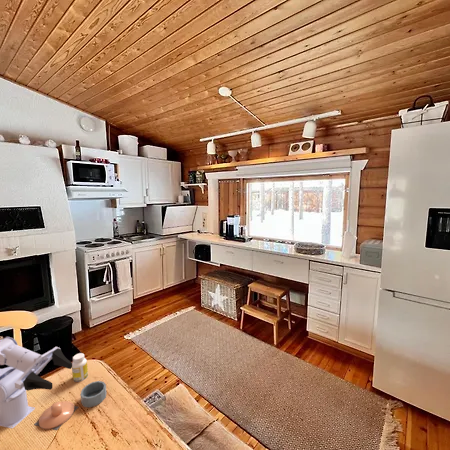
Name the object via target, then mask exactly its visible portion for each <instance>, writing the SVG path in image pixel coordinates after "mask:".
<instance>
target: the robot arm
mask: <svg viewBox="0 0 450 450" xmlns="http://www.w3.org/2000/svg"><path fill="white" fill-rule="evenodd" d="M51 360H52V362H53V366H59V367H63V368H66V369H69V370H72V363H73V362H72V361H71V360H69V359H68V358H67V357H66V356H65V355H64V353H63V352H62V349H61V348H60V346H59V347H58V346H55V347H53V348H52V349H50V350H48V351H47V352H45V353H43V354H40V353H38V352H35V351H33V350H30V349H27V348H26V347H23V346H20V345H18V342H17V340H15V338H13V337H10V336H5V337H4V338H2V339H0V366H4V365H6V366H7V367H4V368H0V427H4V428H8V429H14V428H15V427H16V426H17V425H19V423H21V422H22V421H23V420H24V419H26V417H28V416H29V415H30V414H31V413H32V412H34V410H35V409H36V407H33V406H30V405H29V402H28V397H27V396H28V395H27V394H28V393H27V391H34V390H49V391H50V390H53V383H52V382H51V381H49V380H48V379H44V378H43V377H41V376H39V374H40V372H42V371H43V369H44V368H45V367H46V366H47V364H48V363H49V362H50V361H51Z"/></svg>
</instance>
